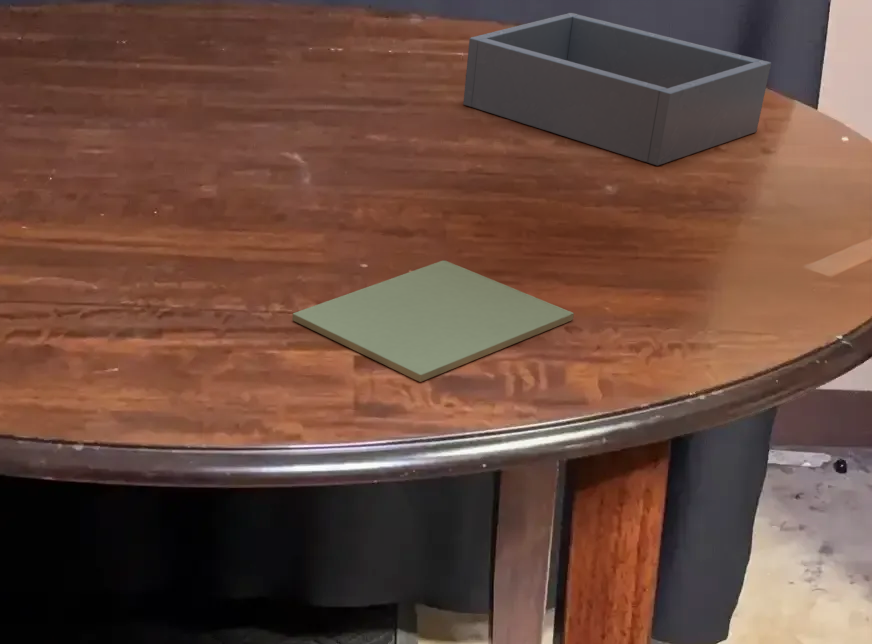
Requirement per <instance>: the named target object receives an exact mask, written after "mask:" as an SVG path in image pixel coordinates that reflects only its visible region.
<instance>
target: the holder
mask: <svg viewBox="0 0 872 644" xmlns="http://www.w3.org/2000/svg"><path fill="white" fill-rule="evenodd" d="M467 50H468V51H467V63H466V70H465V71H466V73H465V82H464V91H463V103H462V104H463V105H464V106H466V107H469V108H473V109H476V110H479V111H482V112H485V113H489V114H491V115H495V116H499V117H501V118H505V119H507V120H511V121H513V122H517V123H521V124H523V125H526V126H530V127H532V128H536V129H539V130H542V131H546V132H549V133H552V134H555V135H558V136H562V137H565V138H568V139H570V140H575V141H578V142H581V143H583V144H586V145H589V146H594V147H596V148H600V149H603V150H606V151H609V152H613V153H615V154H619V155H622V156H624V157H625V156H626V157H629V158H631V159H635V160H638V161H641V162H644V163H648V164H650V165H654V166H657V167H658V166H662V165H664V164H667V163H670V162H673V161H675V160H679V159H681V158H685V157H688V156H690V155H694V154H697V153H699V152H703V151H706V150H708V149H711V148H714V147H716V146H720V145H723V144H726V143H728V142H731V141H734V140H737V139H740V138H743V137H746V136H749V135H751V134H755V133H757V132H758V127H759V122H760V118H761V114H762V109H763V105H764V100H765V94H766V89H767V85H768V80H769V75H770V70H771V65H772V62H771V61H767V60H762V59H759V58H754V57H750V56H748V55H747V56H746V55H742V54H738V53H734V52H731V51H726V50H723V49H719V48H714V47H711V46H706V45H703V44H698V43H694V42H690V41H685V40H682V39H678V38H674V37H670V36H666V35H662V34H659V33H654V32H649V31H647V30H641V29H638V28H634V27H630V26H625V25H622V24H617V23H613V22H610V21H606V20H602V19H598V18H593V17H589V16H585V15H582V14H579V13H575V12H568V13H564V14H560V15H556V16H551V17H548V18H544V19H540V20H536V21H532V22H528V23H524V24H523V23H522V24H520V25H515V26H512V27H508V28H504V29H500V30H499V29H498V30H496V31H492V32H488V33H484V34H479V35H476V36H475V35H474V36H471V37H469V41H468V49H467Z"/></svg>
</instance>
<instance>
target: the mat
mask: <svg viewBox="0 0 872 644" xmlns="http://www.w3.org/2000/svg"><path fill="white" fill-rule="evenodd" d="M574 315H575V313H574V312H572V311H570V310H567V309H565V308H563V307H560V306H558V305H556V304H554V303H550V302H548V301H546V300H543V299H541V298H538V297H535V296H533V295H531V294H529V293H526V292H524V291H521V290H519V289H516V288H513V287H512V286H509V285H506V284H504V283H502V282H499V281H496V280H494V279H492V278H489V277H488V276H487V277H486V276H484V275H481V274H480V273H477V272H474V271H472V270H469V269H467V268H464V267H462V266H460V265H457V264H454V263H453V262H450V261H447V260H445V259H442V260H440V261H437V262H434V263H431V264H429V265H426V266H423V267H420V268H417V269H415V270H412V271H408V272H406V273H403V274H400V275H398V276H395V277H392V278H389V279H386V280H383V281H380V282H377V283H375V284H372V285H370V286H366V287H364V288H360V289H357V290H355V291H352V292H350V293H347V294H344V295H340V296H338V297H335V298H333V299H330V300H329V299H328V300H326V301H323V302H321V303H319V304H318V303H317V304H315V305H312V306H310V307H306V308H304V309H301V310H299V311H296V312H293V313H292V321H293V322H295V323H297V324H299V325H301V326H303V327H305V328H306V329H307V328H308V329H309V330H311V331H314V332H316V333H318V334H320V335H322V336H323V337H326V338H327V339H330V340H333V341H334V342H336V343H338V344H340V345H343V346H345V347H347V348H349V349H350V350H353V351H354V352H357V353H359V354H361V355H363V356H365V357H367V358H370V359H371V360H374V361H375V362H378V363H380V364H381V365H384V366H386V367H388V368H390V369H392V370H394V371H396V372H397V373H400V374H402V375H404V376H405V377H406V376H407V377H408V378H411V379H412V380H415V381H417V382H418V383H421V382H424V381H427V380H429V379H432V378H434V377H437V376H439V375H441V374H443V373H446V372H448V371H452V370H453V369H456V368H459V367H461V366H464V365H466V364H468V363H471V362H473V361H476V360H478V359H480V358H481V359H482V358H483V357H486V356H487V355H490V354H493V353H495V352H498V351H500V350H503V349H505V348H507V347H510V346H513V345H516V344H517V343H520V342H522V341H524V340H527V339H530V338H532V337H535V336H537V335H539V334H543V333H544V332H546V331H547V332H548V331H550V330H552V329H554V328H558V327H559V326H561V325H564V324H566V323H569V322H571V321H573V320H574Z"/></svg>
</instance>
